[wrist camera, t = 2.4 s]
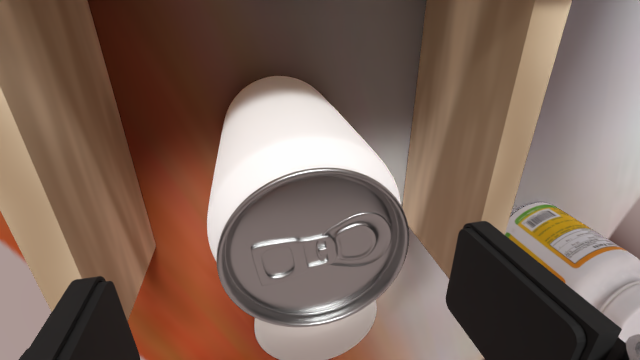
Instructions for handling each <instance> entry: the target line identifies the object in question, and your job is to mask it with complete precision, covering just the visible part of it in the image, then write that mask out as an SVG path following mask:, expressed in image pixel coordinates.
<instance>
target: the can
mask: <svg viewBox="0 0 640 360" xmlns="http://www.w3.org/2000/svg"><path fill="white" fill-rule="evenodd" d="M207 233H208V240H209V245H210V248H211V251H212V254H213V256H214V258H215V260H216V262H217V270H218V274H219V278H220V281H221V283H222V286H223V288H224V290H225V291H226V293H227V294H228V296H229V297H230V298H231V300H232V301H233V302H234V303H235V304H236V305H237V306H238V307H239V308H241V309H242V310H243V311H245V312H246V313H248V314H249V315H251V316H253V317H255V318H257V319H259V320H261V321H264V322H267V323H270V324H274V325H279V326H285V327H313V326H319V325H325V324H329V323H332V322H336V321H339V320H341V319H344V318H346V317H349V316H351V315H353V314H355V313H357V312H359V311H360V310H362V309H364V308H365V307H367V306H368V305H370V304H371V303H372V302H374V301H375V300H376V299H377V298H379V297H380V296H381V295H382V294H383V293H384V292H385V291H386V290H387V289H388V287H389V286H390V285H391V284H392V282H393V281H394V280H395V278H396V277H397V275H398V274H399V272H400V270H401V268H402V266H403V264H404V261H405V258H406V255H407V251H408V246H409V227H408V222H407V218H406V215H405V212H404V210H403V208H402V206H401V201H400V195H399V191H398V188H397V185H396V182H395V180H394V178H393V176H392V174H391V173H390V171H389V169H388V168H387V166H386V165H385V164H384V162H383V161H382V160H381V159H380V157H379V156H378V155H377V154H376V153H375V152H374V150H373V149H372V148H371V147H370V146H369V145H368V144H367V143H366V142H365V140H364V139H363V138H362V137H361V136H360V135H359V134H358V133H357V132H356V131H355V130H354V128H353V127H352V126H351V125H350V124H349V123H348V122H347V121H346V120H345V119H344V118H343V117H342V116H341V115H340V113H339V112H338V111H337V110H336V109H335V108H334V107H333V106H332V105H331V104H330V103H329V102H328V101H327V100H326V99H325V98H324V97H323V96H322V95H321V94H320V93H319V92H318V91H317V90H316V89H315V88H314V87H312V86H311V85H309V84H307V83H306V82H304V81H301V80H299V79H296V78H292V77H287V76H272V77H266V78H263V79H260V80H257V81H255V82H253V83H251V84H249V85H248V86H246V87H245V88H244V89H243V90H241V91H240V92H239V93H238V94H237V96H236V97H235V98H234V99H233V101H232V103H231V104H230V106H229V108H228V111H227V113H226V116H225V120H224V125H223V129H222V134H221V139H220V145H219V150H218V155H217V161H216V166H215V171H214V177H213V182H212V188H211V194H210V200H209V207H208V215H207Z"/></svg>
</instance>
